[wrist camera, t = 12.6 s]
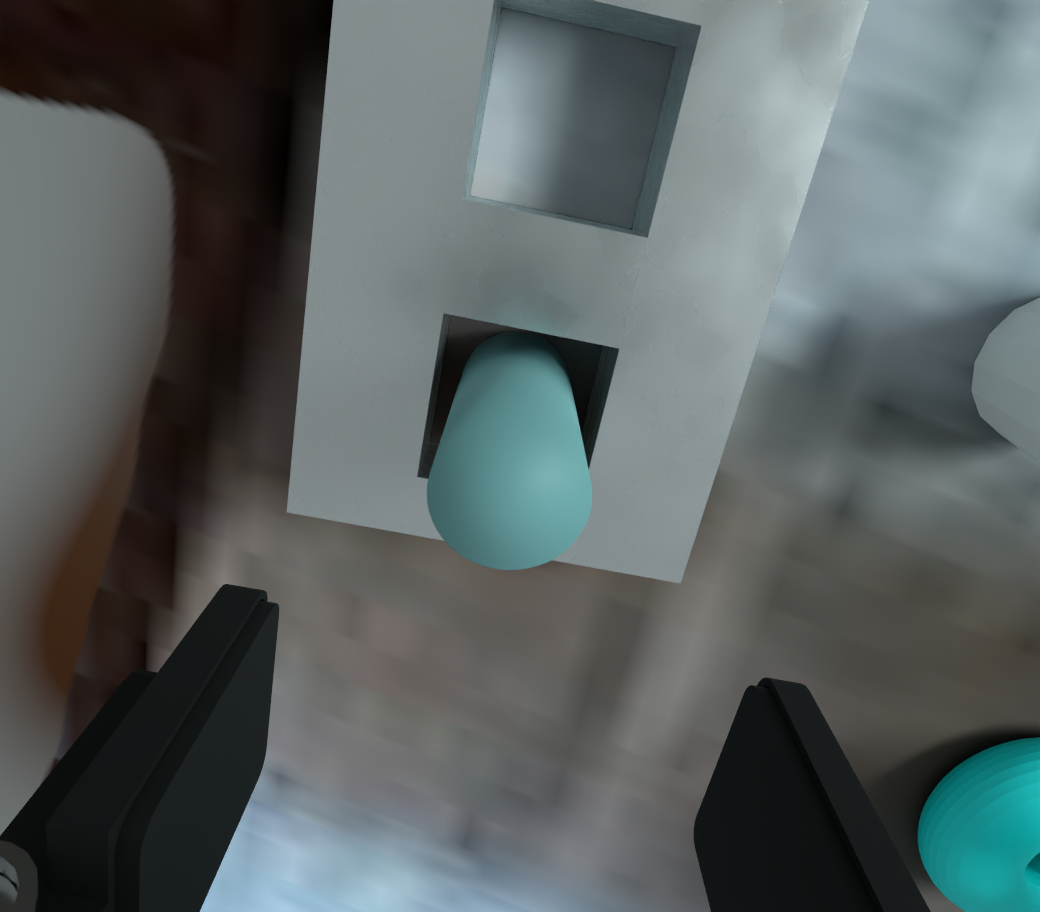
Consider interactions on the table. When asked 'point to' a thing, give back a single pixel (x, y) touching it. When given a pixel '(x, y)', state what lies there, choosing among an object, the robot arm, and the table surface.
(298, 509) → the block
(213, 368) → the table surface
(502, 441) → the peg
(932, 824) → the donuts
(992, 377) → the grey cup
